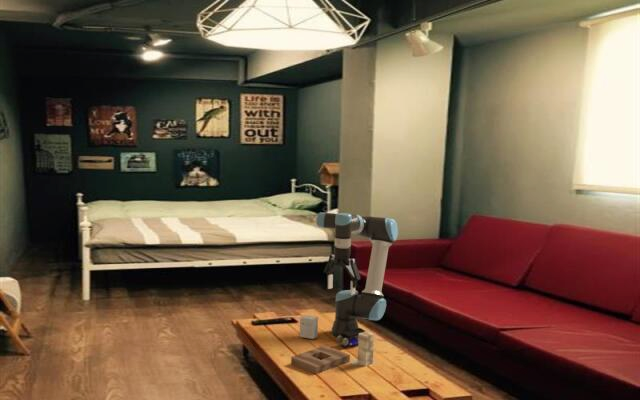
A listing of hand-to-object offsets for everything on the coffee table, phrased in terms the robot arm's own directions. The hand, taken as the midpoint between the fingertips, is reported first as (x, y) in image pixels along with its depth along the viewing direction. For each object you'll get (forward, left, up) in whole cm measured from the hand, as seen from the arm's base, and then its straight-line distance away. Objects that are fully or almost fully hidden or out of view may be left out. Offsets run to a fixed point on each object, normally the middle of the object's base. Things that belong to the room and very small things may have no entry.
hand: (341, 291), depth 270 cm
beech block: (-2, +14, -31) cm, 34 cm away
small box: (-10, -30, -32) cm, 45 cm away
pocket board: (+13, 0, -32) cm, 34 cm away
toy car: (-9, -8, -30) cm, 32 cm away
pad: (-2, +14, -32) cm, 35 cm away
